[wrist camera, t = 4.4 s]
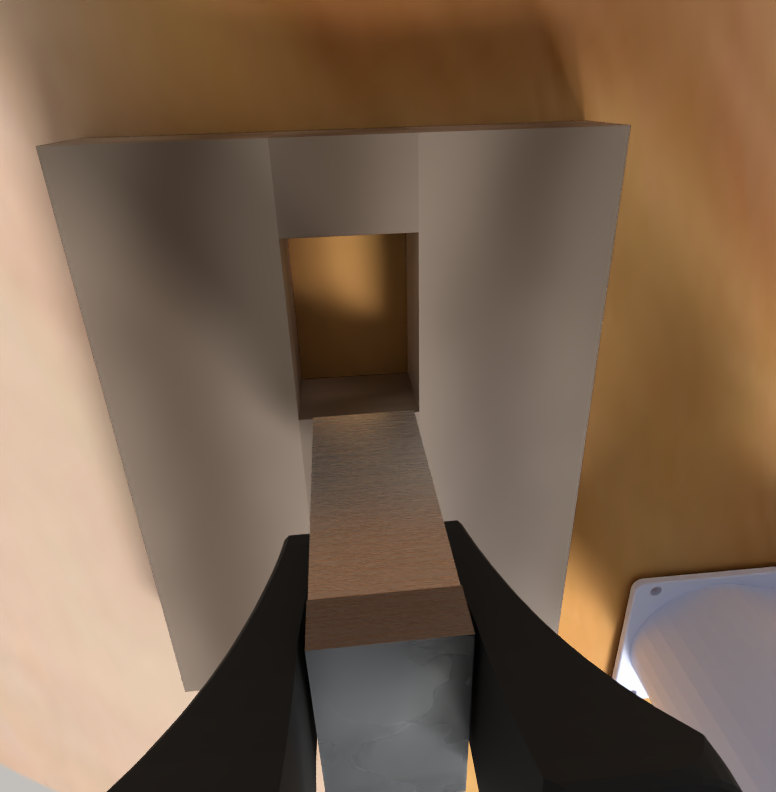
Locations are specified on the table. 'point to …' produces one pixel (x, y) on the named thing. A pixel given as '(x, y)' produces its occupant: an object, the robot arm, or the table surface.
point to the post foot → (307, 398)
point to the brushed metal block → (384, 613)
